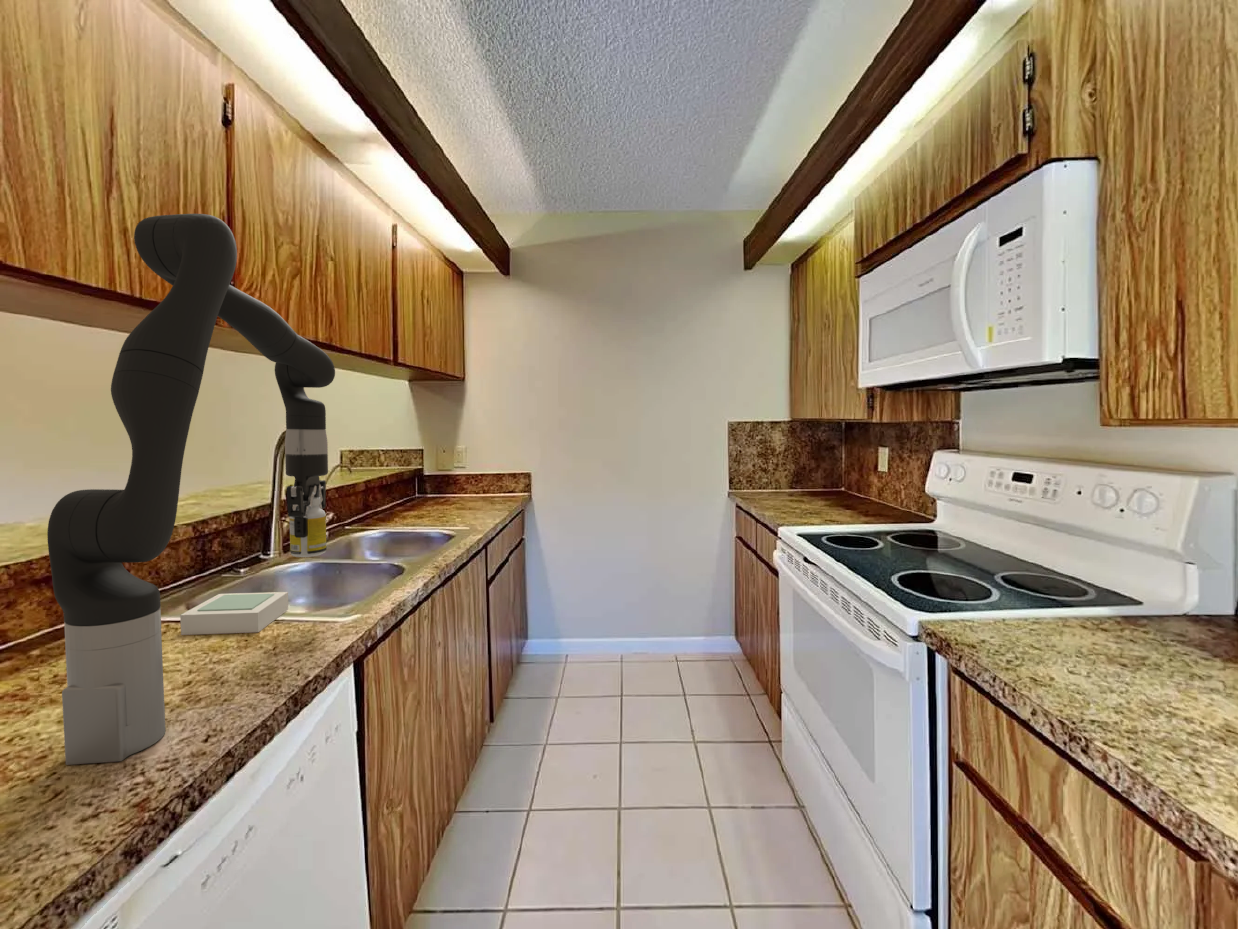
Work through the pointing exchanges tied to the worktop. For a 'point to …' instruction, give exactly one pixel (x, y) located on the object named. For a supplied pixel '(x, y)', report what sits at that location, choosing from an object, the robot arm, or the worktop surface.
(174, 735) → the worktop surface
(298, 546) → the pill bottle
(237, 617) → the stand
